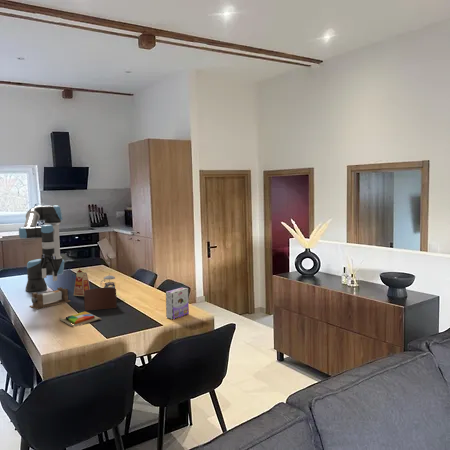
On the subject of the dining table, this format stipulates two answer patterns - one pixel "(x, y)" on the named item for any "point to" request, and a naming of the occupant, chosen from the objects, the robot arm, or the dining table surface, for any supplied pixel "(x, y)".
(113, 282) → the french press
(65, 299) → the cradle rack
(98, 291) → the letter holder
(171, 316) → the candy box
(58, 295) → the white block with pegs
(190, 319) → the dining table surface
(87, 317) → the wooden puzzle
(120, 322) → the dining table surface
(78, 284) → the milk carton
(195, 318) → the dining table surface
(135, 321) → the dining table surface
